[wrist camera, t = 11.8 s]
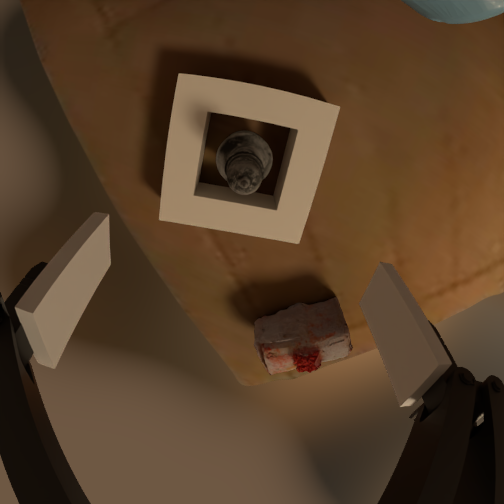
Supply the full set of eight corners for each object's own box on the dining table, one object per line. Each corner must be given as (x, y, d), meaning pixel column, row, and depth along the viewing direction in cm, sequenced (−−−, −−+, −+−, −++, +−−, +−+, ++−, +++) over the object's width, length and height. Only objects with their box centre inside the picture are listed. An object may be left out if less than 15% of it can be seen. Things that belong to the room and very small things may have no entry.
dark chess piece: (263, 181, 35) (272, 226, 25) (214, 171, 34) (200, 213, 24) (275, 133, 32) (290, 158, 22) (223, 123, 31) (213, 142, 21)
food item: (265, 342, 50) (268, 390, 41) (250, 310, 46) (251, 361, 37) (343, 321, 48) (358, 367, 39) (337, 286, 44) (355, 334, 35)
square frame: (187, 74, 28) (178, 73, 24) (328, 103, 30) (340, 106, 26) (168, 204, 36) (159, 219, 32) (293, 226, 38) (298, 244, 34)
